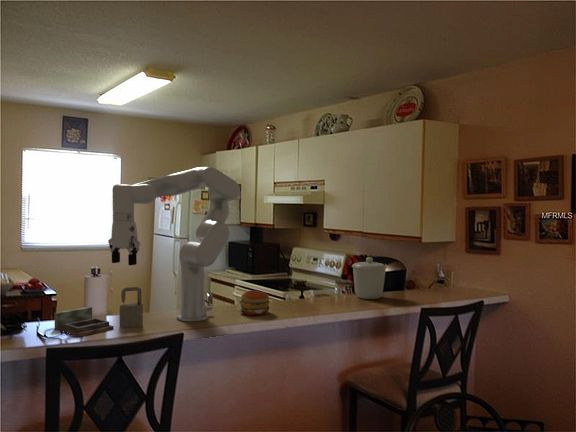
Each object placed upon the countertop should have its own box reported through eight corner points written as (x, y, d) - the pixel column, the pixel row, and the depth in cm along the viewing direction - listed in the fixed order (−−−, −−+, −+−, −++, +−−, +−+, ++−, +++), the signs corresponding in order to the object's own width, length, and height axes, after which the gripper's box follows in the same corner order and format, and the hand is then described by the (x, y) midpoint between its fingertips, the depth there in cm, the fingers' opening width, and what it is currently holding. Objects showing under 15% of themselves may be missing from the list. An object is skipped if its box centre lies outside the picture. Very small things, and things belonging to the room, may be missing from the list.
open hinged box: (89, 322, 194) (89, 306, 194) (113, 329, 185) (113, 312, 185) (54, 329, 183) (54, 312, 183) (78, 337, 173) (78, 319, 173)
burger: (274, 315, 212) (274, 292, 212) (244, 318, 207) (244, 294, 207) (263, 309, 225) (264, 287, 224) (234, 311, 219) (235, 288, 219)
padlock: (119, 326, 190) (119, 287, 189) (140, 323, 193) (141, 285, 193) (121, 328, 186) (121, 288, 186) (143, 326, 190) (143, 287, 190)
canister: (347, 294, 265) (348, 255, 264) (380, 294, 267) (381, 255, 266) (355, 301, 247) (356, 259, 246) (390, 301, 249) (392, 259, 248)
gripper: (147, 218, 181) (147, 264, 182) (117, 216, 191) (118, 260, 192) (129, 218, 175) (130, 267, 176) (100, 217, 185) (101, 263, 186)
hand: (124, 263), depth 184 cm, fingers open, 9 cm apart
